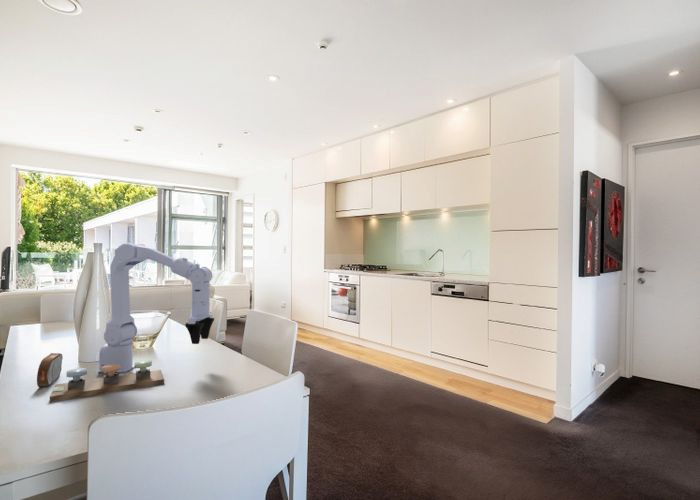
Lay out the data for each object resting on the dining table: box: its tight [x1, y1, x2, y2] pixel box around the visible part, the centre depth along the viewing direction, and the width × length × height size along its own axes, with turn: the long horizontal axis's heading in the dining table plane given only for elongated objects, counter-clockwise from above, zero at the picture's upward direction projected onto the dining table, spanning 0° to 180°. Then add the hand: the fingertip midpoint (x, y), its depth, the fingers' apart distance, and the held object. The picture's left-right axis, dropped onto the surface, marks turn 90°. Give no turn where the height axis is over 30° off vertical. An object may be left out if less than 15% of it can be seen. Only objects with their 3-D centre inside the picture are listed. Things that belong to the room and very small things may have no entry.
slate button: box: [65, 367, 88, 382], centre depth 109 cm, size 5×5×3 cm
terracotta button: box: [101, 364, 121, 377], centre depth 114 cm, size 5×5×3 cm
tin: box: [36, 352, 63, 388], centre depth 117 cm, size 15×3×8 cm, turn 23°
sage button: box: [134, 359, 153, 373], centre depth 118 cm, size 5×5×3 cm
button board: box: [49, 368, 165, 403], centre depth 114 cm, size 28×11×3 cm, turn 122°
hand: (200, 341), depth 130 cm, fingers open, 7 cm apart
